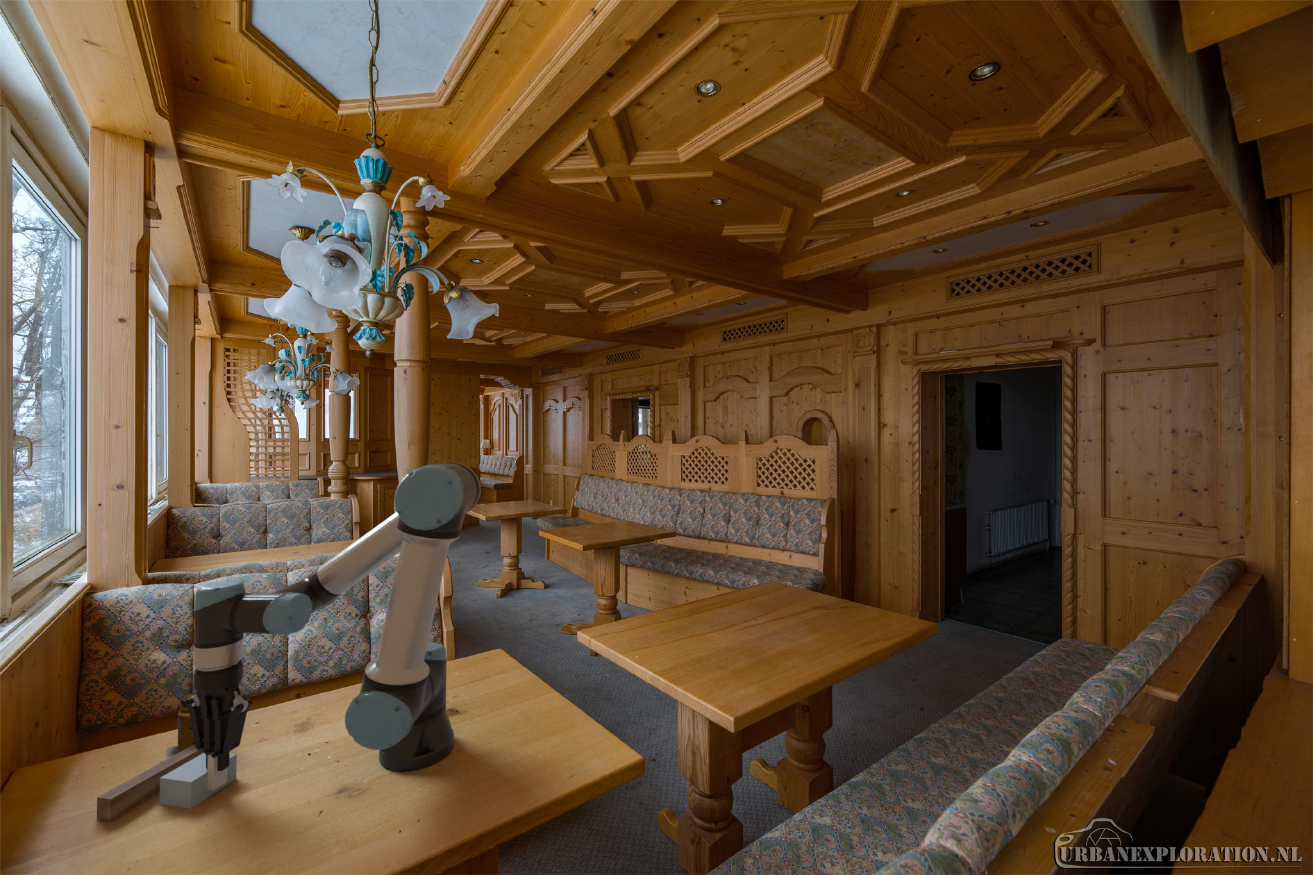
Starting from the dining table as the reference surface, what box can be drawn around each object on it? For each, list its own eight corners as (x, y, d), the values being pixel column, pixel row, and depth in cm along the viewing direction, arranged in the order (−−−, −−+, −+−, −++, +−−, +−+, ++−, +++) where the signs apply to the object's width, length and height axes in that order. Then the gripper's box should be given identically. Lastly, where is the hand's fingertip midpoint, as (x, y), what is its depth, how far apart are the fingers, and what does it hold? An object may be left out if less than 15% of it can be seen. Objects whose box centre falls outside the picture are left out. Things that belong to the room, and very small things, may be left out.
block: (236, 779, 109) (236, 754, 109) (190, 808, 100) (191, 781, 100) (207, 775, 110) (207, 750, 110) (159, 804, 101) (159, 777, 101)
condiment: (213, 752, 118) (213, 697, 118) (161, 765, 113) (161, 708, 114) (217, 737, 124) (218, 685, 124) (168, 748, 120) (168, 694, 120)
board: (218, 757, 116) (219, 738, 116) (110, 821, 97) (110, 799, 97) (207, 755, 117) (207, 737, 117) (96, 819, 97) (96, 797, 97)
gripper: (265, 658, 107) (263, 777, 107) (209, 653, 109) (208, 770, 109) (229, 674, 100) (227, 802, 100) (170, 668, 102) (168, 793, 102)
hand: (217, 785), depth 104 cm, fingers closed
